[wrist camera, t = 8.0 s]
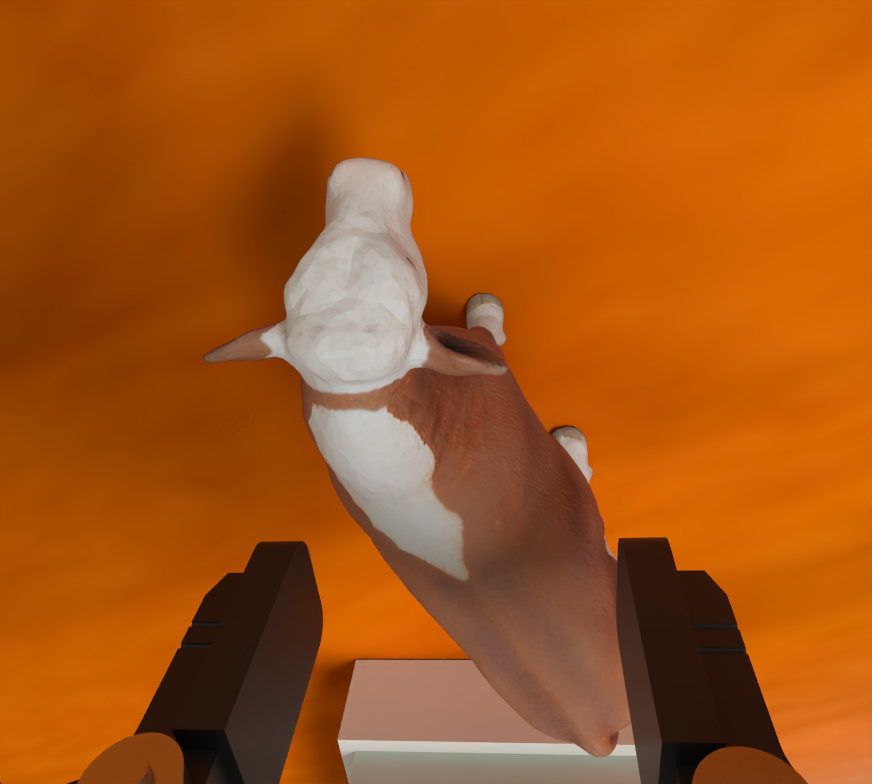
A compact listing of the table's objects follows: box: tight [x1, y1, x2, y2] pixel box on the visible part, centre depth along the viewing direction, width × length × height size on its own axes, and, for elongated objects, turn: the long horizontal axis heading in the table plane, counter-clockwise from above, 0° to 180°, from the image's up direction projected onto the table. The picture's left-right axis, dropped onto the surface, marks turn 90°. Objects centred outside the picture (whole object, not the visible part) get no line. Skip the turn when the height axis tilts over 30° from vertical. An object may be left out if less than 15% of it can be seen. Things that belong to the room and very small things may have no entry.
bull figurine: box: [204, 158, 631, 757], centre depth 15 cm, size 4×13×8 cm, turn 25°
